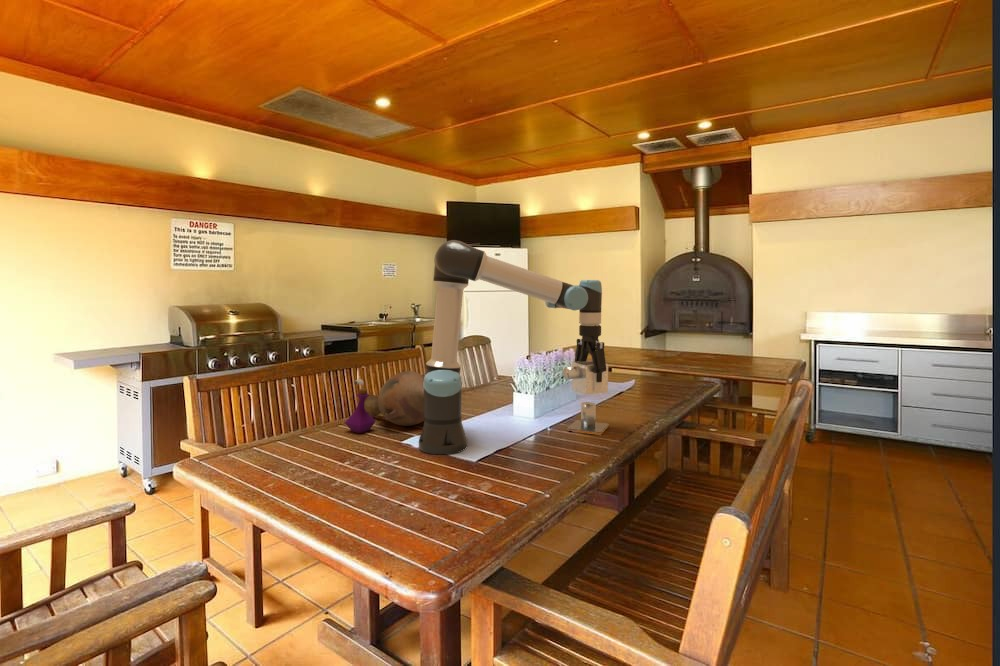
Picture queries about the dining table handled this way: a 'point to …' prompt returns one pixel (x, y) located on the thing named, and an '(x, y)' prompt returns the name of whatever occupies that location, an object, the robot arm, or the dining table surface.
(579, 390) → the collar
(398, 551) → the dining table surface
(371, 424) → the perfume bottle
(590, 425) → the duct stub
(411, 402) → the jug
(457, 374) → the robot arm
